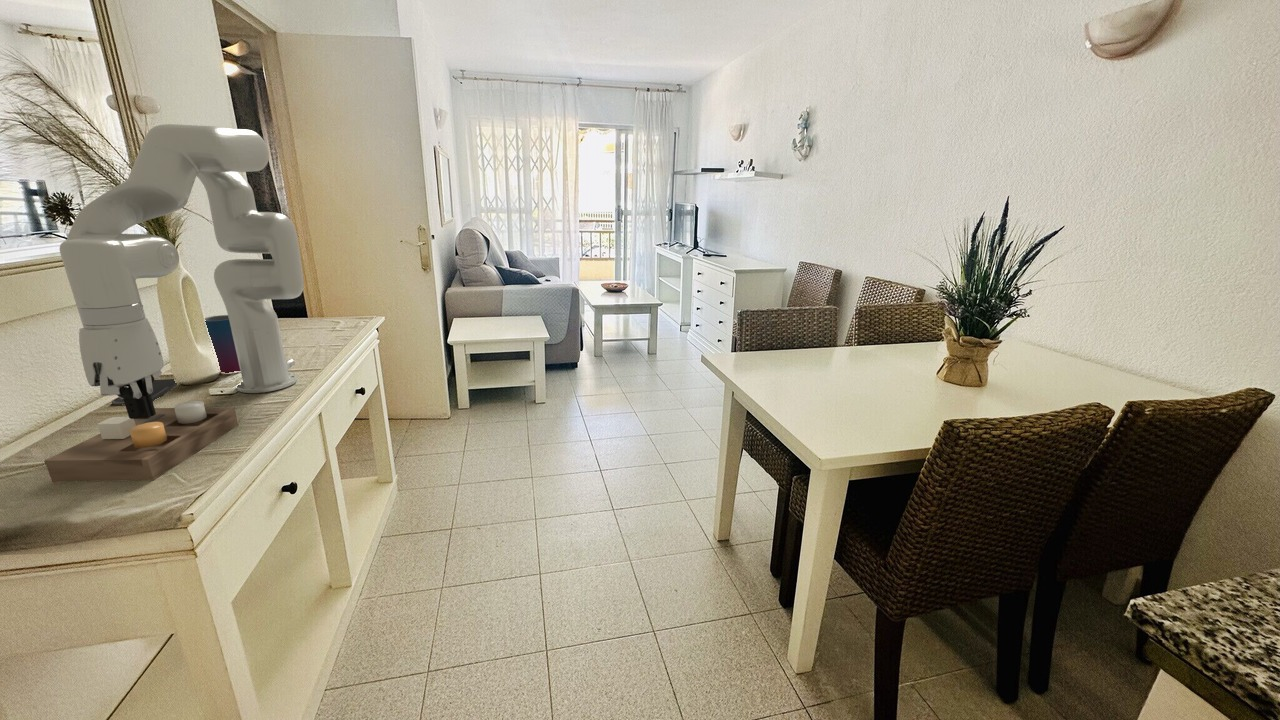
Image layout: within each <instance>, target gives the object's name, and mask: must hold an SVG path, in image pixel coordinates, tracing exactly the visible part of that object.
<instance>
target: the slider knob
mask: <svg viewBox="0 0 1280 720" xmlns="http://www.w3.org/2000/svg"><path fill="white" fill-rule="evenodd" d="M134 426H136V424H135V421H134V419H130V418H129V416H112V417H110V418H109V417H108V418H107V419H105V420H102V421H100V422H99V423H97V429H98V431H99V434H101V437H102V439H125V438H126V437H128V436H130V435H131V434H130V431H129V430H130V429H131V428H132V427H134Z"/></svg>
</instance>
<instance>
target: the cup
mask: <svg viewBox="0 0 1280 720" xmlns="http://www.w3.org/2000/svg"><path fill="white" fill-rule="evenodd" d="M204 318H205V320H206V321H205V322H206V325H207V328H208V332H209V335H210V337H211V340H212V343H213V346H214V349H215V352H216V355H217V358H218V362H219V366H220V370H221V372H225V373H229V372H234V371H241V370H240V366H239V362H238V357H237V353H236V348H235V344H234V340H233V335H232V331H231V326H230V321H229V317H228V314H222V315H221V314H220V315H213V316H208V317H204Z"/></svg>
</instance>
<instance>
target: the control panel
mask: <svg viewBox="0 0 1280 720" xmlns="http://www.w3.org/2000/svg"><path fill="white" fill-rule="evenodd" d="M154 408H155V412H156V414H155V415H154V416H151V417H150V418H148V419H134V421H135V424H136V426H137V425H140V424H144V423H149V422H162V423H163V425H164V429H165V432H166V436H167V440H166V441H165V442H163V443H161V444H159V445H156V446H152V447H147V448H136V447H134V444H133V441H132V438H131V435H130V436H128V437H126V438H125V439H102V437H101V434H100V433H99V434H96V435H94V436H92V437H90V438H88V439H86V440H84V441H82V442H80V443H78V444H76V445H74V446H72V447H70V448H68V449H65V450H63V451H61V452H59V453H57V454H55V455H53V456H51V457H49V458H47V459H45V460H44V464H45V466H46V469H47V471H48V474H49V477H50V480H51V482H52V483H56V482H59V483H60V482H61V483H62V482H115V481H116V482H117V481H119V482H121V481H123V482H125V481H128V482H129V481H154V480H157V479H158V478H159V477H161V476H162V475H164V474H165V473H167V472H169V471H170V470H172V469H173V468H175V467H177V466H178V465H179V464H181V463H183V462H184V461H185V460H188V459H189V458H191V457H192V456H193V455H195V454H197V453H198V452H199V451H201V450H203V449H204V448H206V447H207V446H208V445H209V446H210V445H211V444H212V443H213V442H215V441H216V440H218V439H219V438H221V437H223V436H224V435H225V434H227V433H229V432H230V431H232V430H233V429H235V428H236V427H238V426H239V421H238V417H237V413H236V408H235V407H205V411H206V415H207V417H206V418H205V419H203V420H201V421H198V422H194V423H187V424H181V423H178V420H177V417H176V413H175V409H174V407H154Z"/></svg>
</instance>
